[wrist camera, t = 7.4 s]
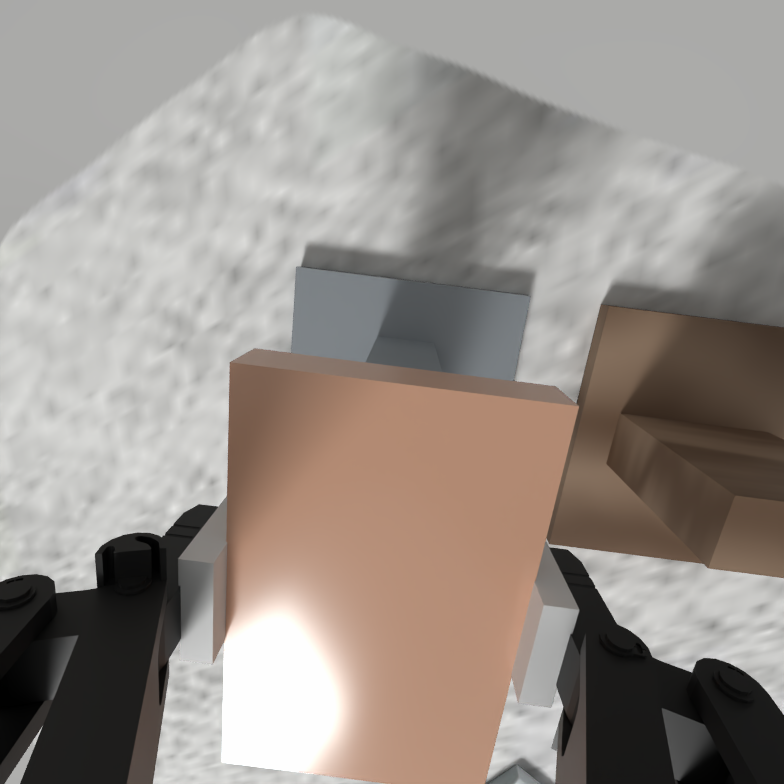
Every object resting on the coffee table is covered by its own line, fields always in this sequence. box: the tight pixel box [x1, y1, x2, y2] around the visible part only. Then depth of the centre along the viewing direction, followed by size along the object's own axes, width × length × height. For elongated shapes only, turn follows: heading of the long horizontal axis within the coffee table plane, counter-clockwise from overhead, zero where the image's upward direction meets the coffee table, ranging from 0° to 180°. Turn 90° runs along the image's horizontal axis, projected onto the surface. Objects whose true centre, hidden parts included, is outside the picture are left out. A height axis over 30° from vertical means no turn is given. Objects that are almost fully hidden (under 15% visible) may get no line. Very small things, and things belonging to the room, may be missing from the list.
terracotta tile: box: [222, 348, 579, 784], centre depth 11 cm, size 7×11×2 cm, turn 173°
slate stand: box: [291, 267, 531, 381], centre depth 21 cm, size 14×12×10 cm
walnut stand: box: [546, 305, 784, 578], centre depth 21 cm, size 14×12×10 cm
